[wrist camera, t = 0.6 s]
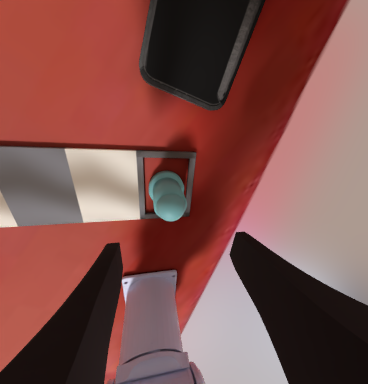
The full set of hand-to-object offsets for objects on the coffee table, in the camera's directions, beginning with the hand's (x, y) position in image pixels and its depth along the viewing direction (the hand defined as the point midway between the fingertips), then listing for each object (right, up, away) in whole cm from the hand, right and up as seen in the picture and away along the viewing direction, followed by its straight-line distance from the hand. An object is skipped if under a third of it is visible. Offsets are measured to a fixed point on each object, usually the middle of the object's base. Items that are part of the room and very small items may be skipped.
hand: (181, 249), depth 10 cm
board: (-11, +4, +6) cm, 13 cm away
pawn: (-2, +4, +8) cm, 9 cm away
